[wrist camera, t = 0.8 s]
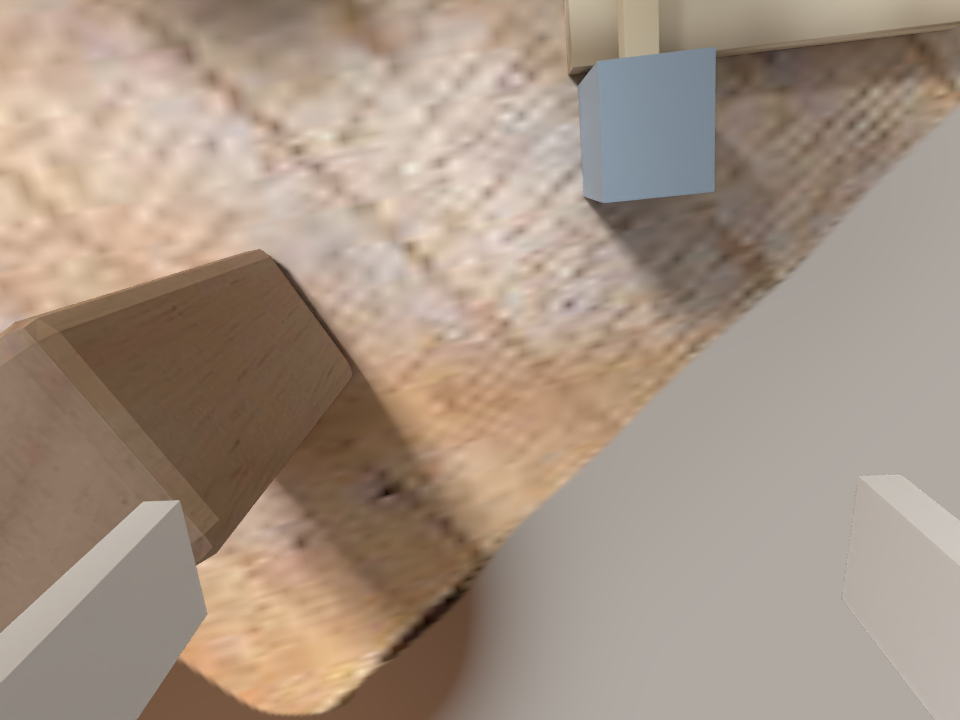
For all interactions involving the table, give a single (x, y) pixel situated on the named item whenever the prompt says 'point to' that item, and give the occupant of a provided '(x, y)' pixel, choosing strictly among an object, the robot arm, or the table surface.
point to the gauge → (647, 115)
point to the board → (752, 25)
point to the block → (153, 412)
